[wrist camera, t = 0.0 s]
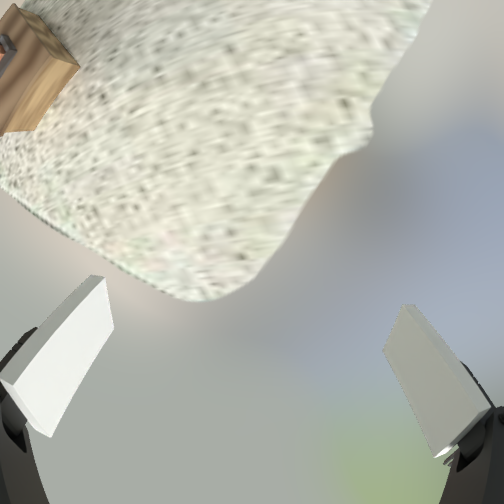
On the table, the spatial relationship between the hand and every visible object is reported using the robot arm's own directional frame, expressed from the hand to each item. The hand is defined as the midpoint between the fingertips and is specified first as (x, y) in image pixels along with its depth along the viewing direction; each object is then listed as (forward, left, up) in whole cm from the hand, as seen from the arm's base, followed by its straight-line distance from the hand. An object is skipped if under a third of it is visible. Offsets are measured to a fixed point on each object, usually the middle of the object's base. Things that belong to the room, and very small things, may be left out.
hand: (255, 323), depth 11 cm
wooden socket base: (-24, -43, -28) cm, 57 cm away
